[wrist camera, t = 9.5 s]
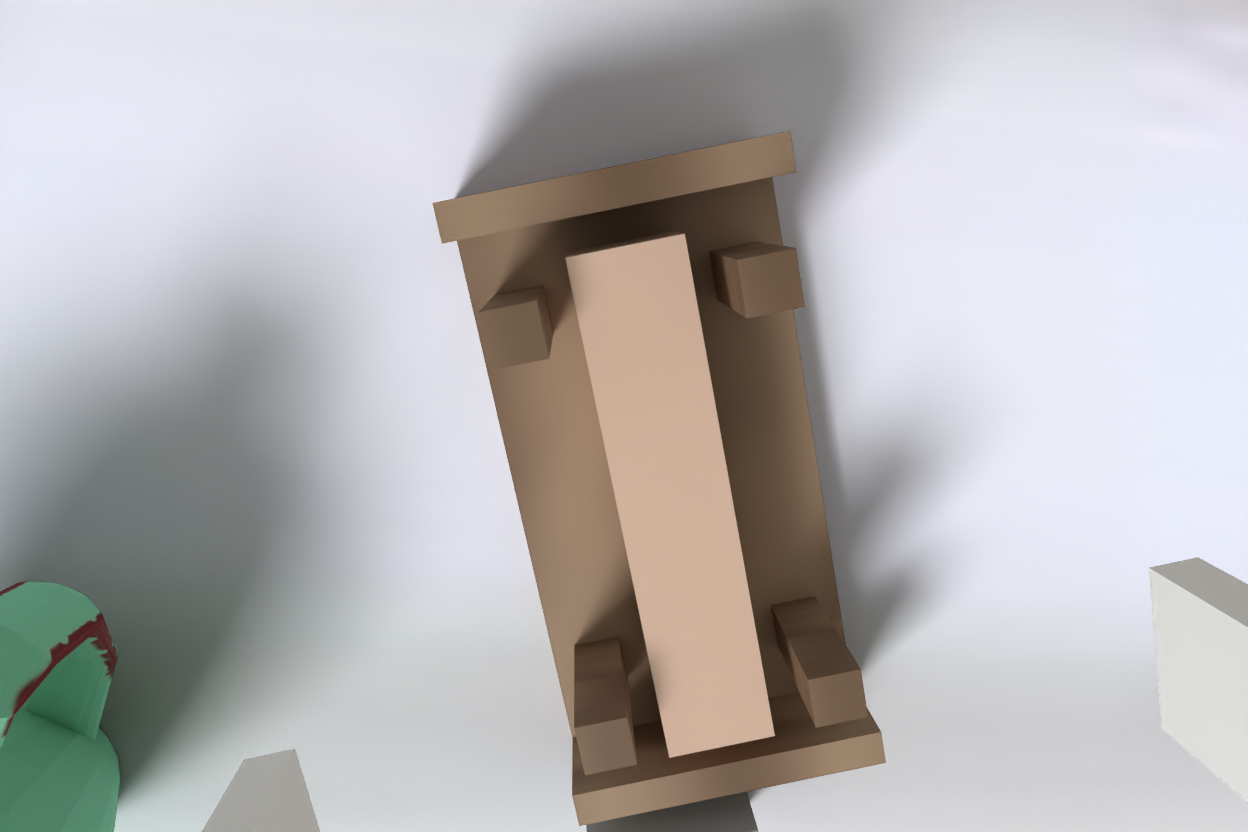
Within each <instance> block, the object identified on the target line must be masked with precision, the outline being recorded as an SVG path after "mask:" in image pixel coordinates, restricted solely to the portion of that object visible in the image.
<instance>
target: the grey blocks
mask: <svg viewBox="0 0 1248 832" xmlns="http://www.w3.org/2000/svg"><path fill="white" fill-rule="evenodd" d="M587 832H758V829H757V825H756V822H755V819H754V815H753V812H752V808H751V805H750V802H749V798H748V795H747V791H746V792H742V793H737V794H732V795H727V796H722V797H717V798H713V799H708V800H703V801H698V802H693V803H688V804H684V805H679V806H674V807H669V808H664V809H659V810H654V811H650V812H645V813H640V814H635V815H630V816H625V817H621V818H616V819H611V820H606V821H601V822H596V823H592V824H587Z"/></svg>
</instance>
